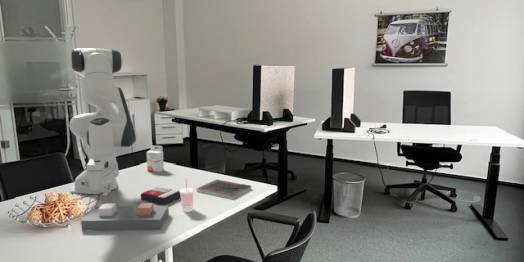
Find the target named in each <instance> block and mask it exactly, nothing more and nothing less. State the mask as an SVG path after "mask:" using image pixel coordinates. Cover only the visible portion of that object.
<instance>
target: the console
mask: <svg viewBox="0 0 524 262" xmlns="http://www.w3.org/2000/svg"><path fill="white" fill-rule="evenodd" d="M138 206H139V205H125V206H124V205H122V206H121V205H120V206H119V205H116V213H115V214H114V215H113V216H99V208H100V207H101V206H95V207H93V209H92V210H91V211H90V212H89V213H87V214H86V215H85V216H84V218H83V219H81V220H80V222H81V223H80V225H81V231H83V230H84V231H85V230H86V231H87V230H91V231H141V230H142V231H144V230H148V231H149V230H162V228H163V226H164V224H165V222H166V221H167V219H168V217H169V215H170V214H169V213H170V212H169V211H170V210H169V205H153V209H154V211H153V213H152V214H151V215H143V216H138V215H137V207H138ZM87 232H88V231H87Z"/></svg>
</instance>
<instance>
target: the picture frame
mask: <svg viewBox="0 0 524 262" xmlns="http://www.w3.org/2000/svg"><path fill="white" fill-rule="evenodd" d="M251 190H252V185H249V184H248V185H247V184H243V183H237V182H233V181H226V180H223V179H214V180H213V181H210V182H208V183H205V184H204V185H201V186H200V187H197V188H196V192H197V193H201V194H206V195H209V196H210V195H211V196H214V197H215V196H216V197H220V198H225V199H229V200H234V199H236V198H237V197H240V196H242V195H243V194H244V193H248V191H251Z"/></svg>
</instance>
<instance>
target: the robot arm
mask: <svg viewBox="0 0 524 262" xmlns="http://www.w3.org/2000/svg"><path fill="white" fill-rule="evenodd" d="M123 60H124V59H123V56H122V53H121V52H120V51H118V50H116V49H107V48H99V47H96V48H81V47H79V48H73V50H71V52H70V55H69V59H68V62H69V64H70V68H71V69H72V70H73V71H74V72H78V73H84V74H83V95H84V96H83V99H84V100H85V102H86V103H87V104H88V105H90V106H93V107H95V108H96V109H95V110H96V112H87V113H81V114H78V115H74V116H72V117H71V119H70V121H69V130H70V131H71V133H72V134H73V136H75V137H77V138H79V139H80V140H81V141H82V142H83V143H84V144H85V147H86V149H87V154H88V161H87V162H86V163H85V164H84V165H83V167H84V168H85V169H84V170H83V171H82V172H81V173H79V175H77V176H76V178H75V180H74V185H72V186H71V188H70V189H69V192H70V193H71V194H72V193H73V194H90V195H98V194H102V195H103V196H104V197H105V196H108V195H109V194H111V191H113V190H116V189H117V188H118V187H119V184H118V181H117V177H119V173H120V172H119V164H118V161H117V158H116V157H117V156H116V150H115V148H119V147H121V148H130V147H131V146H132V145H134V144H135V142H136V141H137V130H136V128H135V125H134V124H133V121H132V118H131V114H130V110H129V107H128V104H127V101H126V96H125V94H124V92H123V89H122V88H121V87H118V85H116V84H115V81H114V76H113V74H115V73H119V72H120V71H121V70H122V67H123V65H124V61H123ZM112 104H113V105H112ZM114 105H115V107H117V110H116V109H115V107H114Z"/></svg>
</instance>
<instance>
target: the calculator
mask: <svg viewBox="0 0 524 262" xmlns="http://www.w3.org/2000/svg"><path fill="white" fill-rule="evenodd" d="M140 200H141V201H145V202H147V203H153V204H157V205H159V206H168V204H170V203H173V202H175V201H177V200H181V196H180V191H179V190H175V189H172V188H164V187H160V186H157V187H154V188H151V189H148V190H145V191H143V192H142V193H140Z"/></svg>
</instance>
